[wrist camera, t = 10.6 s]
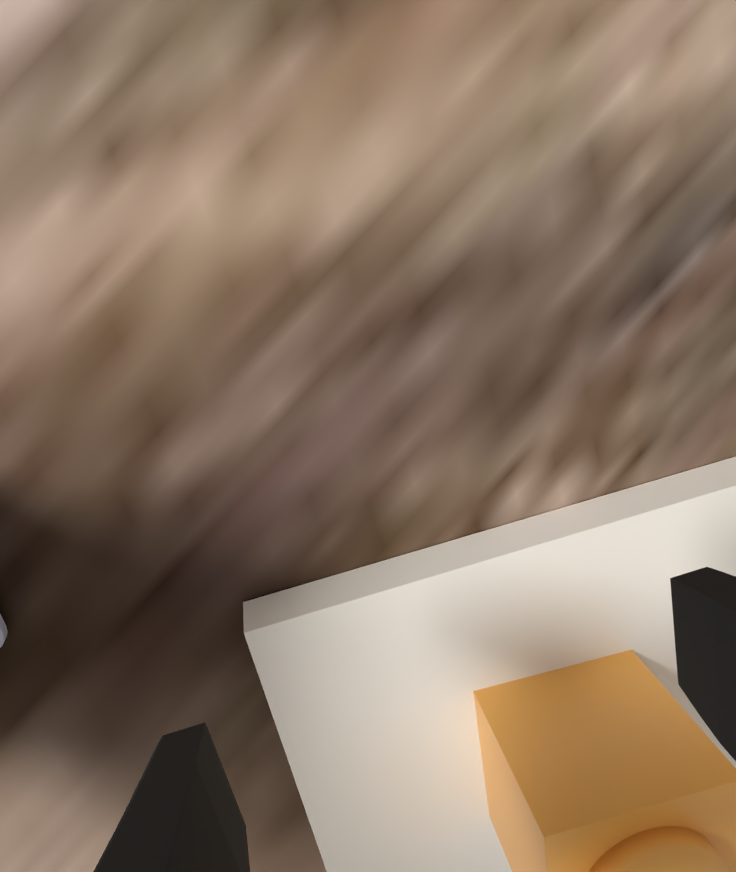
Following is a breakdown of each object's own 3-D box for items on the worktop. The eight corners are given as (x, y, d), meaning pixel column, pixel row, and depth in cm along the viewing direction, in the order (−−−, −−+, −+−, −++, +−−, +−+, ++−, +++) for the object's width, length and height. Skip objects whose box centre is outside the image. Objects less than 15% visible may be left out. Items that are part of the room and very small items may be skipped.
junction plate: (353, 926, 25) (381, 1096, 20) (243, 602, 20) (245, 726, 15) (761, 786, 26) (875, 913, 22) (754, 451, 21) (899, 522, 17)
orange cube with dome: (489, 816, 22) (571, 1016, 17) (473, 691, 20) (559, 869, 15) (635, 774, 23) (760, 955, 17) (631, 649, 21) (769, 806, 16)
